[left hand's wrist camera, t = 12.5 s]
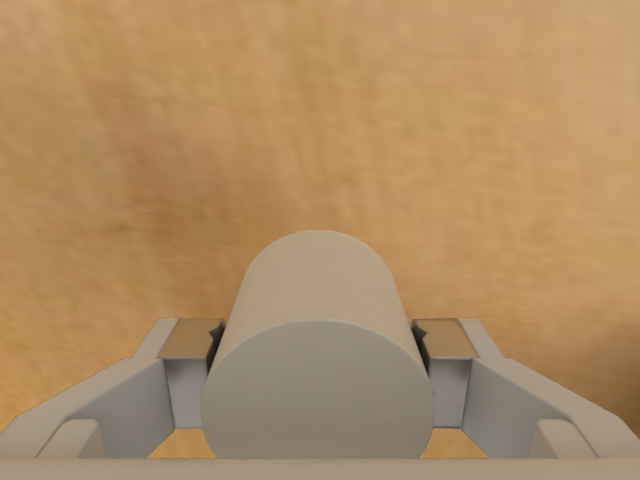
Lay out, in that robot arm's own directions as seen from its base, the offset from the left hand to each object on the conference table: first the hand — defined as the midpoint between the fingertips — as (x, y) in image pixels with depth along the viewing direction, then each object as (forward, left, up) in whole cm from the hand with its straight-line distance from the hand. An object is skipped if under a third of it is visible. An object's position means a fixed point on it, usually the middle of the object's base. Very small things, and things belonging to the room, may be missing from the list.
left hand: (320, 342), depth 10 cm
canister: (0, 0, -2) cm, 2 cm away
